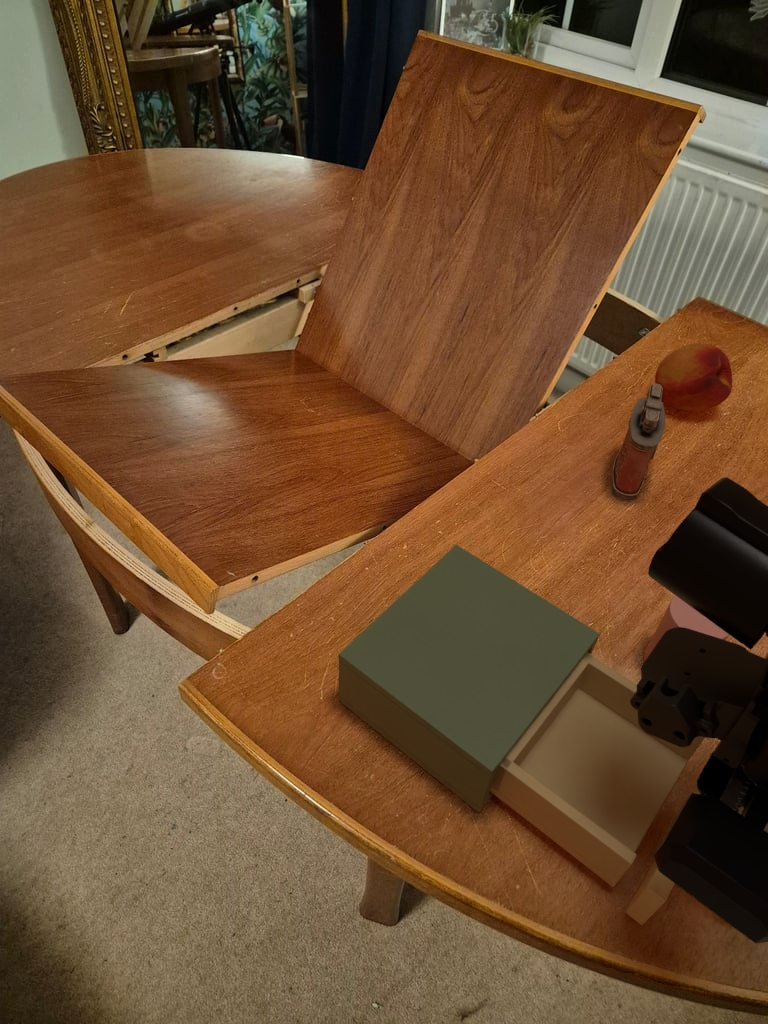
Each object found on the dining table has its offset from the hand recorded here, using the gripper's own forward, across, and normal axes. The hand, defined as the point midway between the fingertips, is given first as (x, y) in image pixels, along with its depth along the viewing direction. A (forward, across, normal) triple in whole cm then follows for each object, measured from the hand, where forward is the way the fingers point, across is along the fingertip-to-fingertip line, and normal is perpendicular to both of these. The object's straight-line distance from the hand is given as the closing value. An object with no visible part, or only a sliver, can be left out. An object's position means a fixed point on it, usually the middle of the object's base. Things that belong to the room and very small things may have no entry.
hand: (723, 823), depth 47 cm
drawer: (+5, 0, -5) cm, 7 cm away
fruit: (+6, -49, -23) cm, 54 cm away
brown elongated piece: (+6, -33, -22) cm, 40 cm away
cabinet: (+6, 0, -20) cm, 21 cm away
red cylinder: (+6, -14, -8) cm, 17 cm away
